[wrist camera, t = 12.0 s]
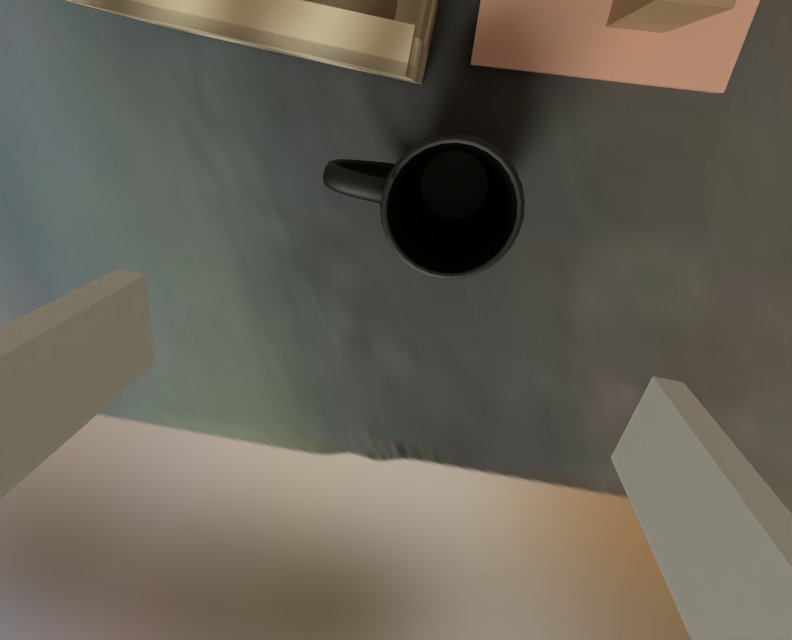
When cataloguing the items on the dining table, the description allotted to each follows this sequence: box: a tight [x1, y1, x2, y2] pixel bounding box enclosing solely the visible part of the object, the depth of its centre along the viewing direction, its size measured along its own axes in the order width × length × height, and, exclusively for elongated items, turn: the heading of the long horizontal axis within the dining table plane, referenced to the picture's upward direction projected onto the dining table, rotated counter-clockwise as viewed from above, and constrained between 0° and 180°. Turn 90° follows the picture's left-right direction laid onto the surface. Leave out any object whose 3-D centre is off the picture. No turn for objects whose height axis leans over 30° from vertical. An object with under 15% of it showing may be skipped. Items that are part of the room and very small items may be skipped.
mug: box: [323, 132, 525, 279], centre depth 29 cm, size 8×12×10 cm
